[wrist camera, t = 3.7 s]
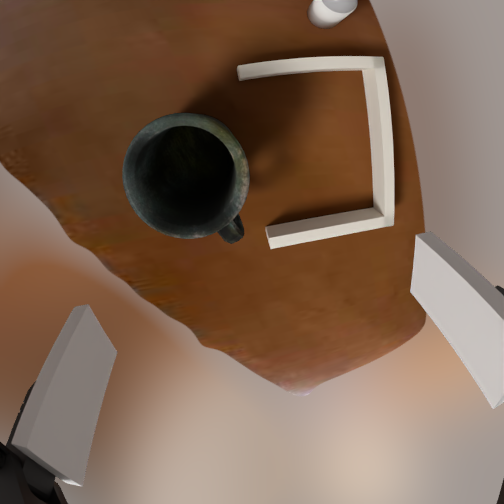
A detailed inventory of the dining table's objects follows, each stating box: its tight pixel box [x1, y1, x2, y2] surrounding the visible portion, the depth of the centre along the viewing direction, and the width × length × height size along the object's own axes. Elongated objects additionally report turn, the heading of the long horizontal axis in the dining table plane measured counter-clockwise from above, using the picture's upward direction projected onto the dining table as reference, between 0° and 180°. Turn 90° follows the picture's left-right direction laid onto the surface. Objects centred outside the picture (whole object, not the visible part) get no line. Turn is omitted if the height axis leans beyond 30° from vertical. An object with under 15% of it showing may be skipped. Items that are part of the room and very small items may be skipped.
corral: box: [237, 56, 394, 249], centre depth 34 cm, size 22×17×4 cm
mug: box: [123, 113, 250, 244], centre depth 30 cm, size 11×15×12 cm
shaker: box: [307, 0, 357, 29], centre depth 23 cm, size 4×4×9 cm
